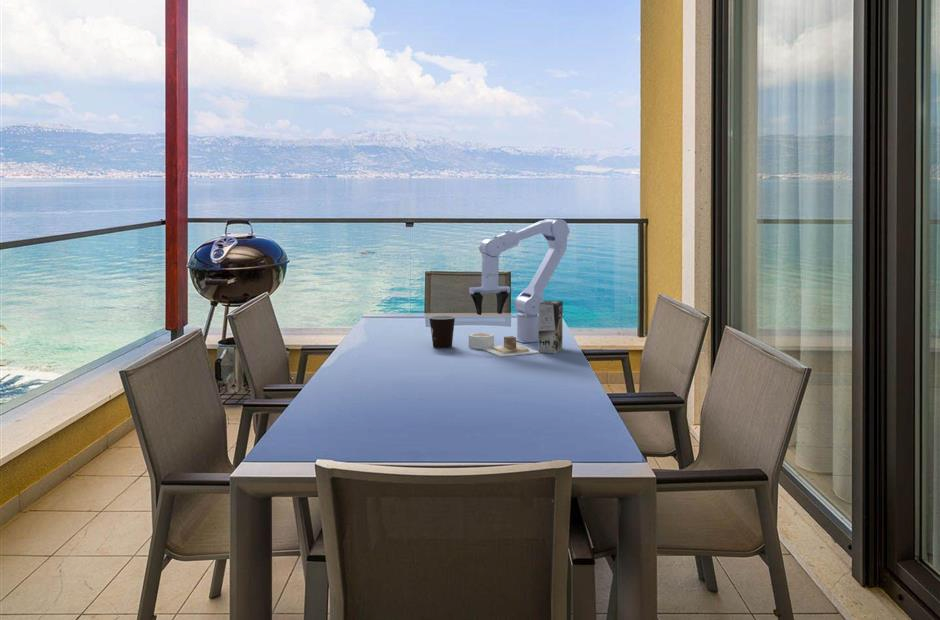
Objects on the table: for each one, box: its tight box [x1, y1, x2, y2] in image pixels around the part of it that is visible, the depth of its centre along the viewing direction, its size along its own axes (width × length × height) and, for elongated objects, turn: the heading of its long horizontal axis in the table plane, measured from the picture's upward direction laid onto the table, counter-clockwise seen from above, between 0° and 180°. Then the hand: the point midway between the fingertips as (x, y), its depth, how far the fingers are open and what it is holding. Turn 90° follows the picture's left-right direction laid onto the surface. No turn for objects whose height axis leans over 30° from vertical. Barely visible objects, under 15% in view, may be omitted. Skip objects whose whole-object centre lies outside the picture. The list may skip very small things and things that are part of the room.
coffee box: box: [537, 300, 564, 354], centre depth 279 cm, size 9×6×16 cm
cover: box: [492, 335, 530, 354], centre depth 279 cm, size 9×9×4 cm
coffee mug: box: [428, 314, 456, 349], centre depth 289 cm, size 12×9×10 cm
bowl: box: [468, 332, 495, 350], centre depth 287 cm, size 8×8×4 cm
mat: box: [481, 344, 540, 358], centre depth 279 cm, size 14×14×1 cm
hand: (489, 314), depth 291 cm, fingers open, 7 cm apart
